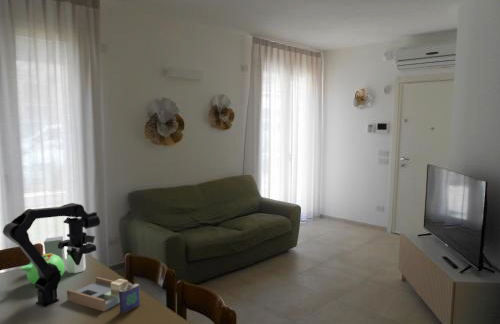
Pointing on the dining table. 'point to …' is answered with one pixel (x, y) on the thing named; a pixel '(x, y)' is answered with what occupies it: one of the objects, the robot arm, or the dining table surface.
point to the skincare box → (54, 247)
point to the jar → (72, 266)
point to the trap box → (95, 295)
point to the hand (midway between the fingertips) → (77, 264)
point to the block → (118, 286)
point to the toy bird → (49, 258)
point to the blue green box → (129, 298)
